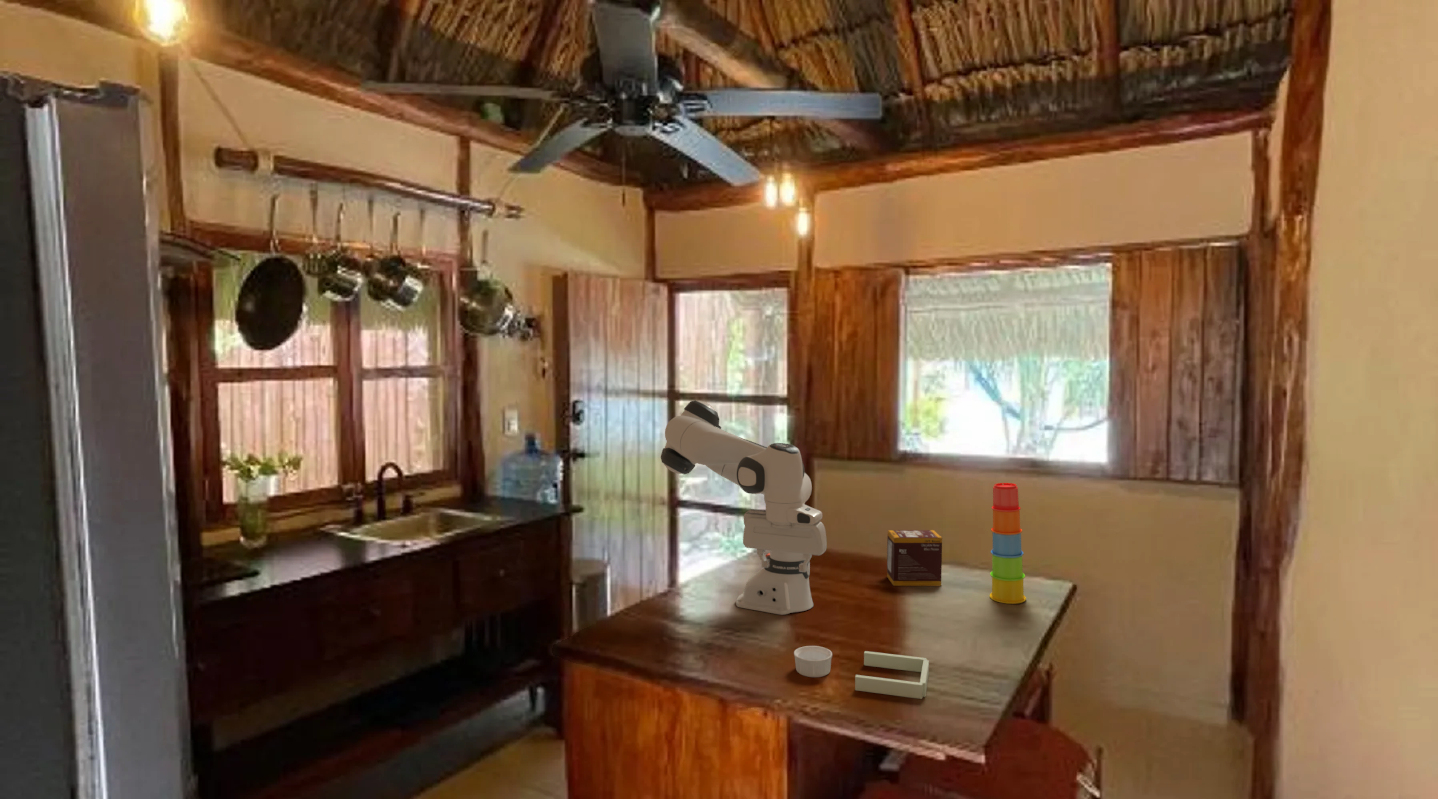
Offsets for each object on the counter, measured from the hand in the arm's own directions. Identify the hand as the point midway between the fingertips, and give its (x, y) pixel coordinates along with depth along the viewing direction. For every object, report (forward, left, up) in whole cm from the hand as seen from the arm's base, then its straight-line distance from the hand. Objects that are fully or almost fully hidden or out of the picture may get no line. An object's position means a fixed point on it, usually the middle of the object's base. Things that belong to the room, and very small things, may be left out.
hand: (784, 569), depth 187 cm
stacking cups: (+53, +65, -22) cm, 87 cm away
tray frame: (+26, -4, -22) cm, 34 cm away
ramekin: (+8, -4, -22) cm, 24 cm away
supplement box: (+25, +75, -22) cm, 82 cm away
